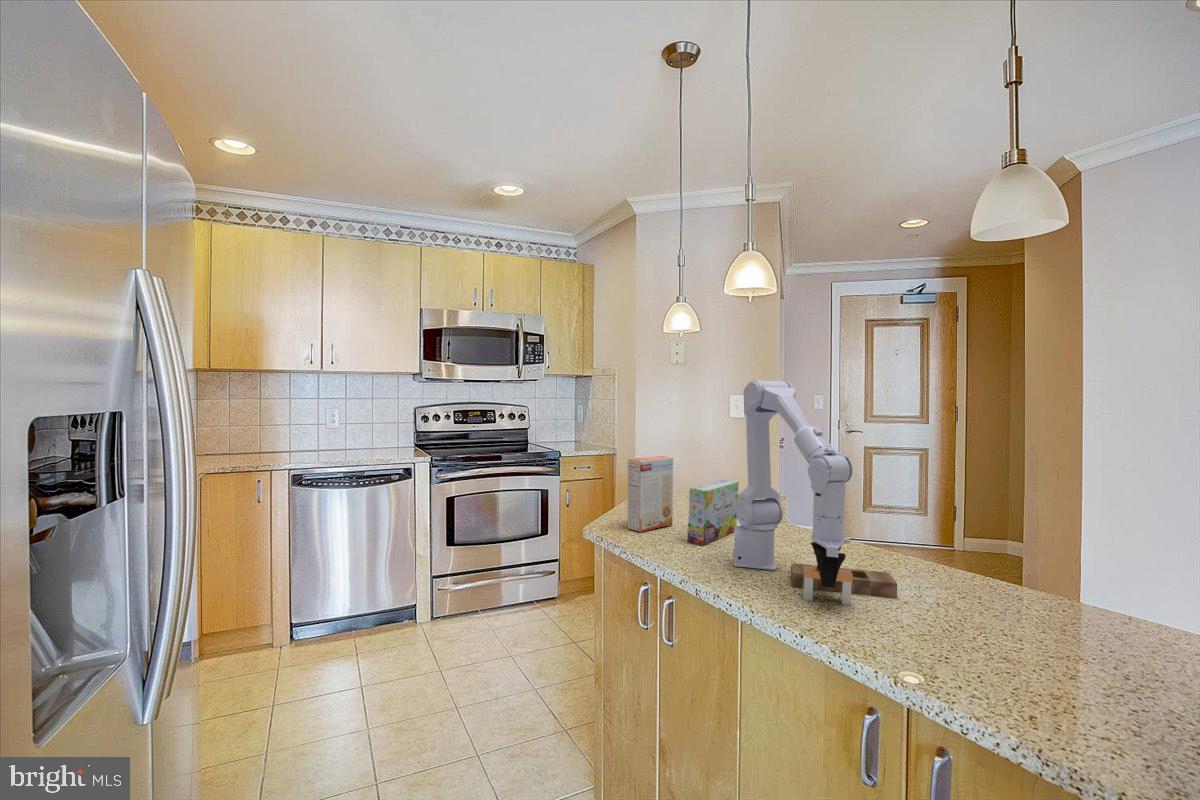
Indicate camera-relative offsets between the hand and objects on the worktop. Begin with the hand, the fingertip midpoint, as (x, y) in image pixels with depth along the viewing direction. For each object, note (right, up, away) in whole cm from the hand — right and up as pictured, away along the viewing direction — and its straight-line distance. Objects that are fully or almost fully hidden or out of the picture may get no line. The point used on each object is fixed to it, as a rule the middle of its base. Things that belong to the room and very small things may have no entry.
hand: (826, 582), depth 111 cm
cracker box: (-30, -2, +55) cm, 63 cm away
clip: (0, -3, 0) cm, 3 cm away
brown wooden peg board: (+6, -3, +8) cm, 10 cm away
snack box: (-13, -3, +46) cm, 48 cm away
